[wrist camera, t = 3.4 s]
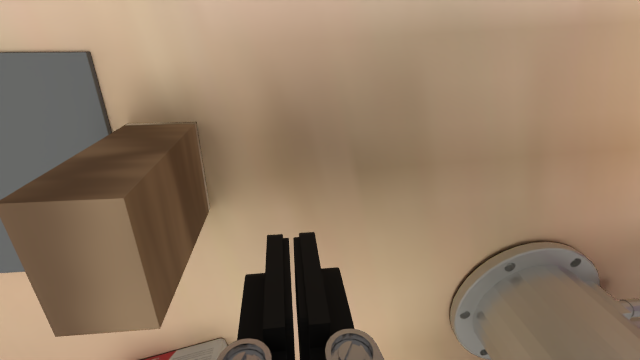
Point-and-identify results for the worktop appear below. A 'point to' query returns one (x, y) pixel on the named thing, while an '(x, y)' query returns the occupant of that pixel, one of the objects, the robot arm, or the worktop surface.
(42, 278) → the walnut block
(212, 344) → the ink box
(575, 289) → the robot arm
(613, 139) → the worktop surface
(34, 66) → the mat
